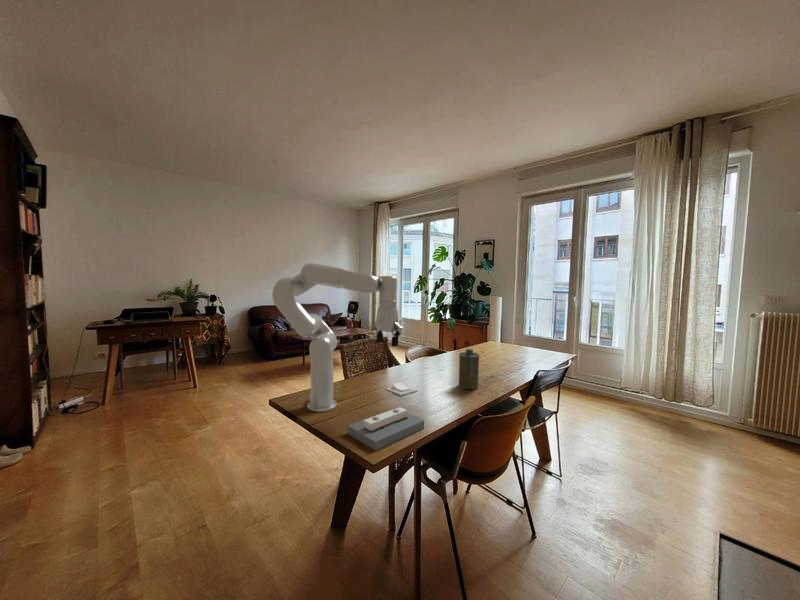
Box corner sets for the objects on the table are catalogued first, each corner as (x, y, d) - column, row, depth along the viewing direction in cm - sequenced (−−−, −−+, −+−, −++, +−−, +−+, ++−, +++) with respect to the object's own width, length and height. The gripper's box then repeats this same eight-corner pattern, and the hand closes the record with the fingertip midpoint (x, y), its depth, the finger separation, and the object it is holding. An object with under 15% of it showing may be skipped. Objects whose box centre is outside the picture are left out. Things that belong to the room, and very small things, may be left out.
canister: (456, 383, 176) (457, 347, 175) (475, 383, 177) (476, 347, 175) (461, 390, 165) (462, 352, 164) (481, 390, 166) (482, 352, 165)
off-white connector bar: (363, 436, 116) (363, 419, 115) (399, 421, 128) (400, 406, 128) (370, 440, 113) (370, 423, 112) (407, 425, 125) (407, 409, 125)
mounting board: (347, 433, 118) (347, 425, 118) (395, 414, 134) (395, 407, 134) (375, 450, 106) (375, 441, 106) (424, 428, 123) (424, 420, 123)
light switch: (401, 379, 172) (417, 384, 162) (401, 387, 172) (417, 392, 162) (384, 383, 166) (400, 389, 156) (384, 391, 166) (400, 397, 156)
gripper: (368, 303, 142) (367, 342, 143) (395, 306, 130) (394, 348, 131) (381, 302, 147) (380, 340, 148) (408, 305, 135) (407, 346, 136)
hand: (387, 344), depth 140 cm, fingers open, 9 cm apart
